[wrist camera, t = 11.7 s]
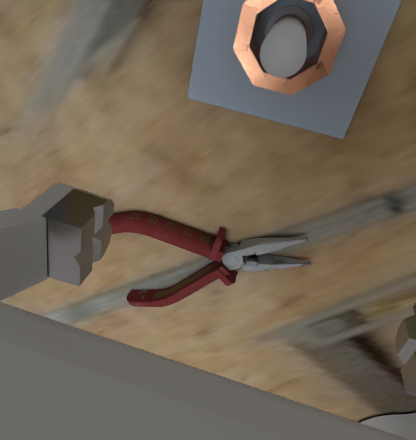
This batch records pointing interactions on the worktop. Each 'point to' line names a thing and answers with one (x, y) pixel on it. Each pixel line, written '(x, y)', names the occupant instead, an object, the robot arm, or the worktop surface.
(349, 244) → the worktop surface
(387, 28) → the shaft block
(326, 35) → the ring
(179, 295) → the pliers
